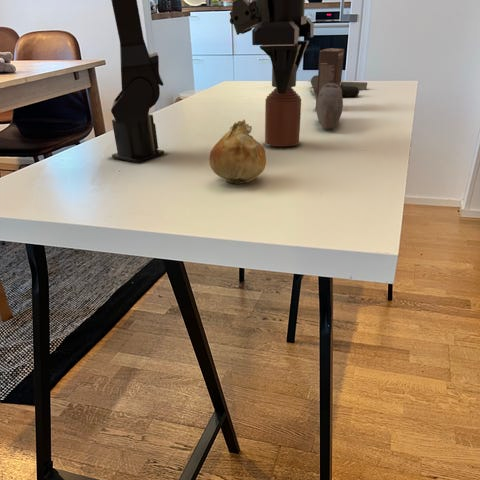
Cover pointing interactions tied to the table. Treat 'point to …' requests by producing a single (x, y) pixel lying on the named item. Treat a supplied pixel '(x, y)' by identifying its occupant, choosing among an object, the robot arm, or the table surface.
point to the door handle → (343, 87)
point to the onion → (238, 155)
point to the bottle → (282, 118)
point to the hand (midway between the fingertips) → (284, 91)
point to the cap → (292, 80)
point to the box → (329, 68)
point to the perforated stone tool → (329, 105)
